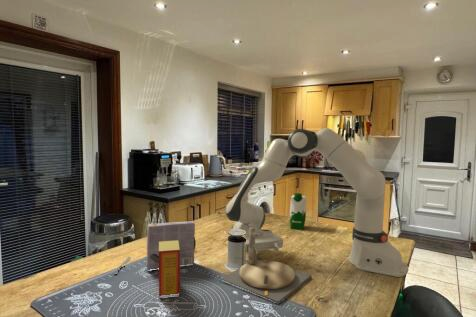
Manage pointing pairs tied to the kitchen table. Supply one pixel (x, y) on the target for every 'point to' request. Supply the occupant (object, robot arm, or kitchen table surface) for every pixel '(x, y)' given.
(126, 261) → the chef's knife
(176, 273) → the baking soda box
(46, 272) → the kitchen table surface
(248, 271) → the dial
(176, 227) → the cake pan box
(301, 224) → the milk carton
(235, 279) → the base plate
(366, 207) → the robot arm
